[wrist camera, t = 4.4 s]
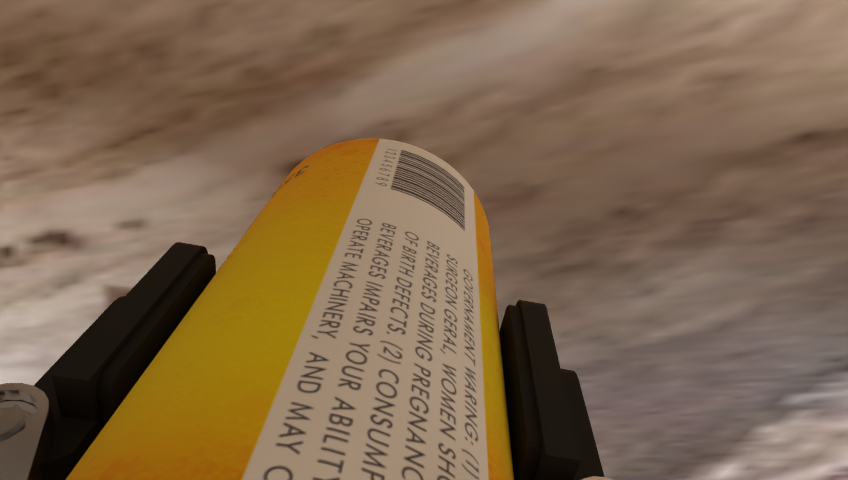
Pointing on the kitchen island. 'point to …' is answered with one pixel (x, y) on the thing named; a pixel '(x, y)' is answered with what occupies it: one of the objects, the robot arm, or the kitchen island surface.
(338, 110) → the kitchen island surface
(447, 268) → the beer can
